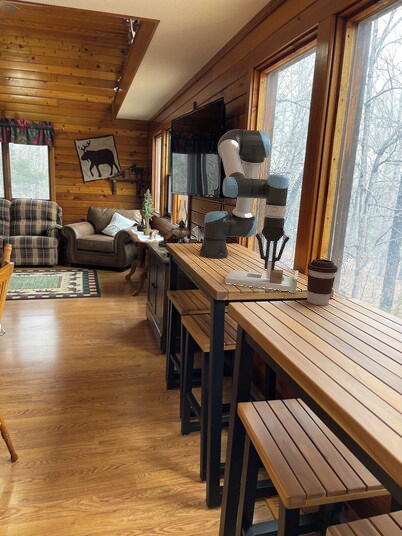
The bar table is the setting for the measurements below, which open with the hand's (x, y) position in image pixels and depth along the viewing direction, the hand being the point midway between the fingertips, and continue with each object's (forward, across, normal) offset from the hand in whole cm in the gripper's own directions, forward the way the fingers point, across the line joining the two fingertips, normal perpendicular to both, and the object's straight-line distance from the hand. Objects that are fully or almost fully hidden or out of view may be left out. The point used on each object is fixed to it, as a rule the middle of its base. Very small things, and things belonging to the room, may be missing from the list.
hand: (268, 277), depth 150 cm
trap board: (+4, -3, +4) cm, 7 cm away
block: (+2, +3, +1) cm, 3 cm away
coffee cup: (+4, +19, -11) cm, 22 cm away
